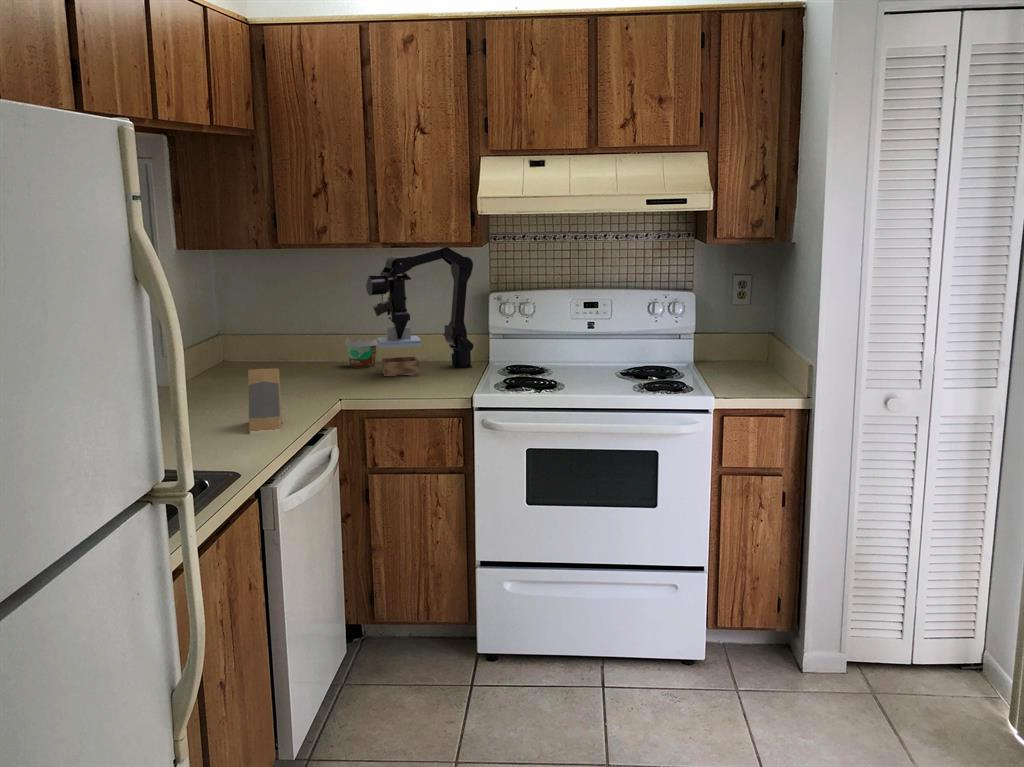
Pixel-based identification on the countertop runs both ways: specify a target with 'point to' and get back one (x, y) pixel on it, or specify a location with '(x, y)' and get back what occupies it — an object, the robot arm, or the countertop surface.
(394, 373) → the box
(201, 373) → the countertop surface
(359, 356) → the food container
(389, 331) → the lid
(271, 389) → the sandwich container
